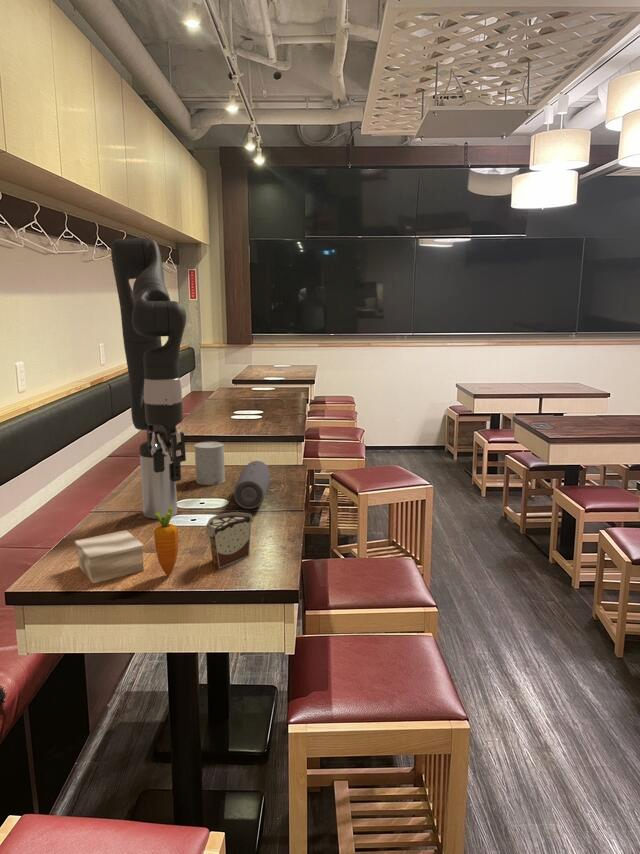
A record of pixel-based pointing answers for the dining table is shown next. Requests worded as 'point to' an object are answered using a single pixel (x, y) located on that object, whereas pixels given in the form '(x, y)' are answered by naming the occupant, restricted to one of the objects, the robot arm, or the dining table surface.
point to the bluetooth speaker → (252, 485)
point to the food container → (229, 537)
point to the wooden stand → (110, 556)
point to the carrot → (166, 542)
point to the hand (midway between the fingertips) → (167, 476)
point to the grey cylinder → (209, 463)
